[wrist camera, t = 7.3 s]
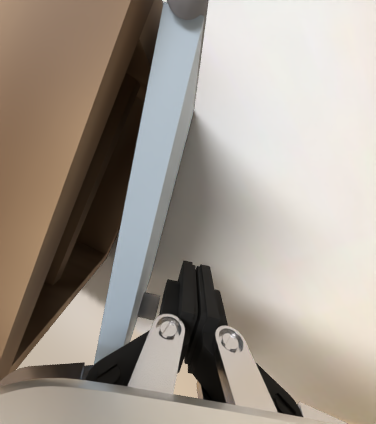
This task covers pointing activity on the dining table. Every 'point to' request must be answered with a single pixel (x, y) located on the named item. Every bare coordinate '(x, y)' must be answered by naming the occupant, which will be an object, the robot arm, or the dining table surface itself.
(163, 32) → the door
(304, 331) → the dining table surface
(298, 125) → the dining table surface
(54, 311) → the cabinet
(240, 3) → the dining table surface
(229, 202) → the dining table surface
